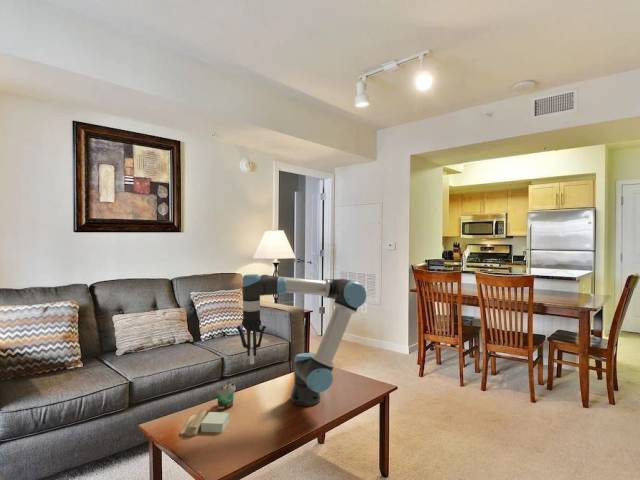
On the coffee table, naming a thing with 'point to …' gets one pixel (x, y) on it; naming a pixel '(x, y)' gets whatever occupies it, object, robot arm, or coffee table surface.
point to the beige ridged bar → (194, 424)
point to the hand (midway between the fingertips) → (252, 363)
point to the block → (215, 422)
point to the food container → (226, 396)
